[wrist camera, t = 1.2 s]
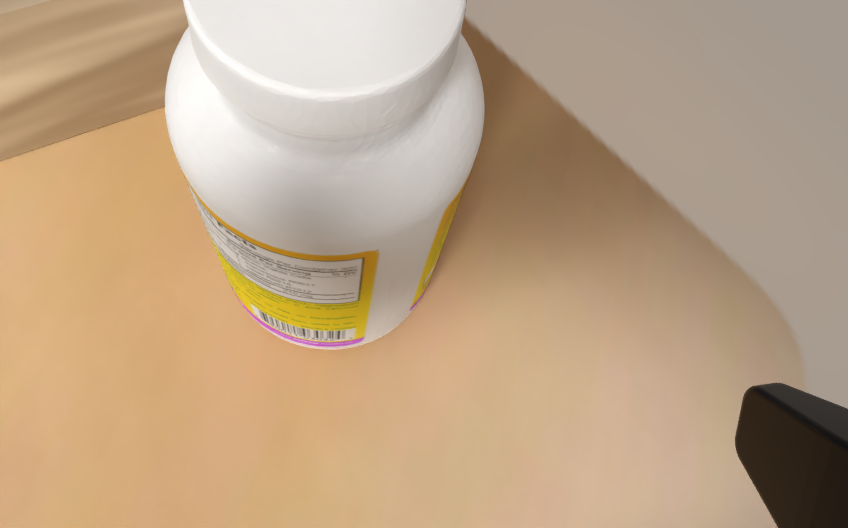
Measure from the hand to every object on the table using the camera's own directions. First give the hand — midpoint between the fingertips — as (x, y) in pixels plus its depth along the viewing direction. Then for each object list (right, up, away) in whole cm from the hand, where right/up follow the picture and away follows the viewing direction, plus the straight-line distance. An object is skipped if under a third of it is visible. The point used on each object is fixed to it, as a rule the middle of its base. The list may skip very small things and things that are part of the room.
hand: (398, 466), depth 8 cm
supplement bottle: (-3, +3, +15) cm, 16 cm away
